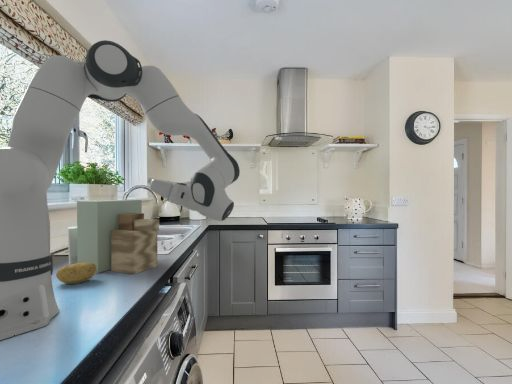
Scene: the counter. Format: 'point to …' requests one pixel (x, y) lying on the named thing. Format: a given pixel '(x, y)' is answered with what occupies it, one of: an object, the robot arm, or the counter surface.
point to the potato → (76, 272)
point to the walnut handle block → (136, 222)
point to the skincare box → (72, 244)
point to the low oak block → (133, 251)
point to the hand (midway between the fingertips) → (158, 181)
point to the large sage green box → (100, 229)
